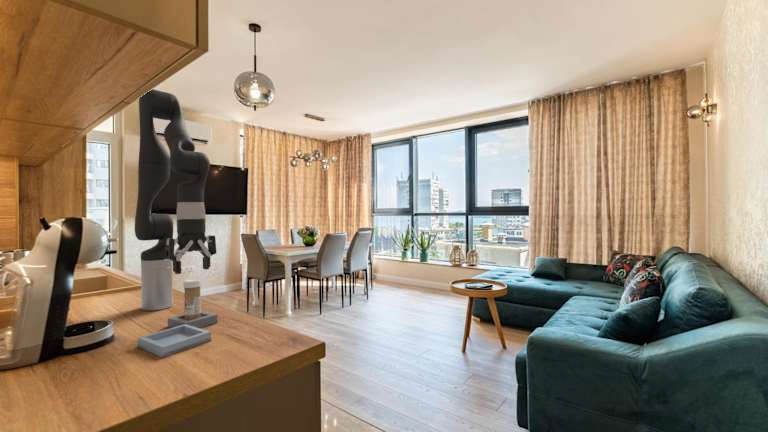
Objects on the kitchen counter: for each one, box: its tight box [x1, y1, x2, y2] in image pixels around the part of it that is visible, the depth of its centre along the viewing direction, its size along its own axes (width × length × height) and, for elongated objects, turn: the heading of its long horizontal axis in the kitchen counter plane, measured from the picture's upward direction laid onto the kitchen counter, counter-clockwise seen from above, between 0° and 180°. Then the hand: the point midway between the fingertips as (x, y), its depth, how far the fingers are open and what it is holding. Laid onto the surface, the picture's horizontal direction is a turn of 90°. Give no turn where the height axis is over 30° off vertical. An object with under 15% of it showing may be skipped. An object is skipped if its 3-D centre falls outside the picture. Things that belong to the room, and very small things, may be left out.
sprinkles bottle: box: [183, 278, 202, 321], centre depth 104 cm, size 5×5×14 cm
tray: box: [137, 324, 212, 358], centre depth 89 cm, size 12×12×2 cm
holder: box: [167, 309, 218, 329], centre depth 104 cm, size 10×10×2 cm
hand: (192, 271), depth 104 cm, fingers open, 8 cm apart
